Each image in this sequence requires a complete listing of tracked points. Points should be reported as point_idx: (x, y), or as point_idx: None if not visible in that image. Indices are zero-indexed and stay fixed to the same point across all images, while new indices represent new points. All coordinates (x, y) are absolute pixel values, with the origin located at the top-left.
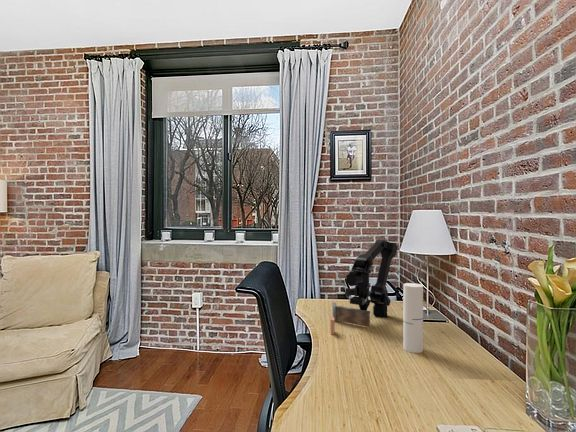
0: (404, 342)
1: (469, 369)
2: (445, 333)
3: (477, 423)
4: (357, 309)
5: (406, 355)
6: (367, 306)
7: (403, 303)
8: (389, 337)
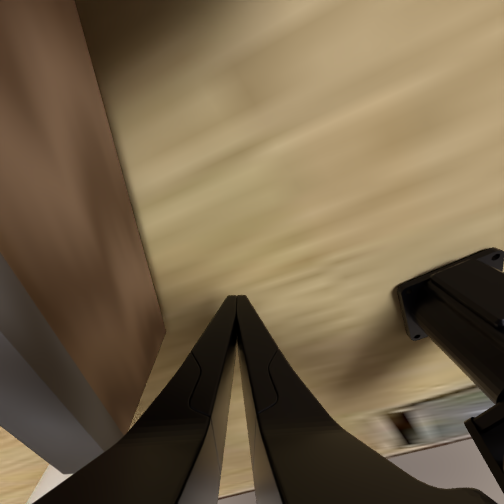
0: (40, 481)
1: None
2: None
3: None
4: (26, 395)
5: (25, 455)
6: (250, 444)
7: None
8: None
